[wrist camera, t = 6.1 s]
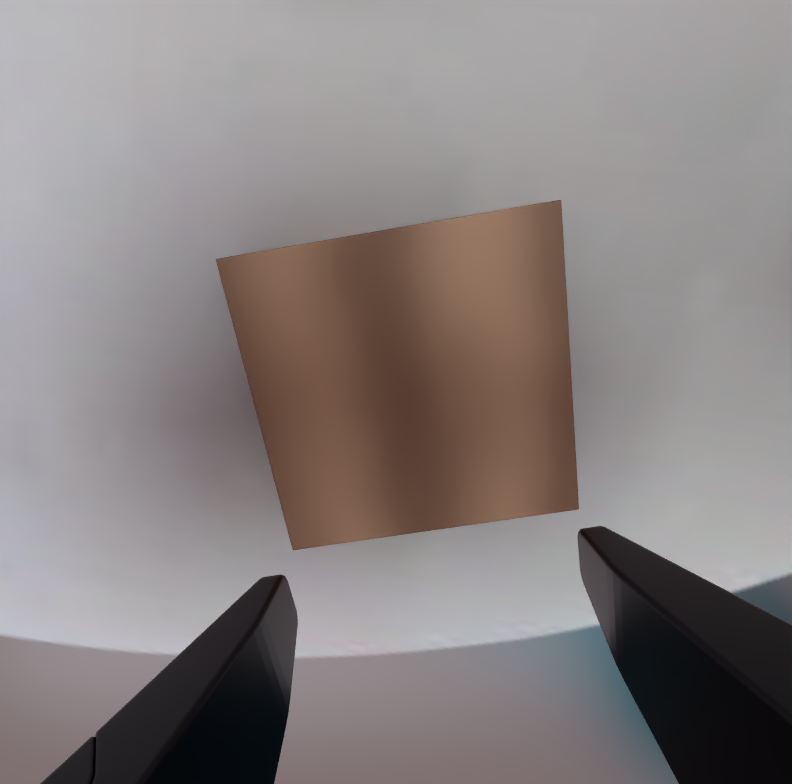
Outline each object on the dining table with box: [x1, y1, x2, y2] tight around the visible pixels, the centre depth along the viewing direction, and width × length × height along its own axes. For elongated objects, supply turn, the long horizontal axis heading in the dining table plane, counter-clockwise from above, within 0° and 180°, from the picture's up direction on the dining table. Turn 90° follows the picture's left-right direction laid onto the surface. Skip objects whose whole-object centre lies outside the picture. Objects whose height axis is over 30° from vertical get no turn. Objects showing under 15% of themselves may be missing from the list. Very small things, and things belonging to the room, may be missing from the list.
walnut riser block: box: [216, 200, 579, 550], centre depth 20 cm, size 12×12×3 cm
